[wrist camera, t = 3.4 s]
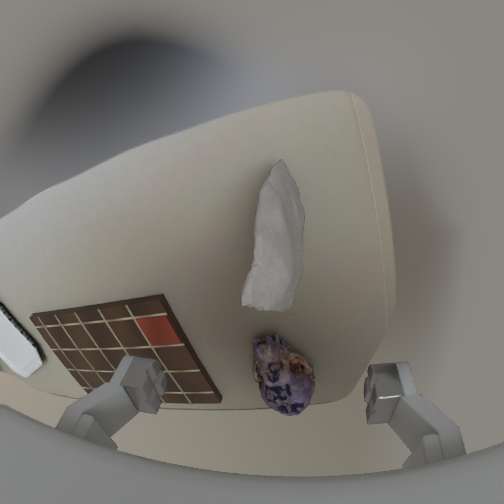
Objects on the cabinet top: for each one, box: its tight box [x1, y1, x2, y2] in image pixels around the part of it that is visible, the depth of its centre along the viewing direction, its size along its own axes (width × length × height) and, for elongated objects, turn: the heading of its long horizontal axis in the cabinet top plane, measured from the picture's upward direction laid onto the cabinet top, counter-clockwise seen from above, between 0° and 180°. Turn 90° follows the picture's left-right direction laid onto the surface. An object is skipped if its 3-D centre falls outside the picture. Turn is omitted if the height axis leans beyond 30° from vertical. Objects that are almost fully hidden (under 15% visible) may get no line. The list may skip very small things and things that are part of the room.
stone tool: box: [241, 159, 305, 312], centre depth 22 cm, size 9×3×15 cm, turn 18°
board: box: [30, 294, 222, 404], centre depth 42 cm, size 28×20×1 cm
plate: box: [0, 304, 43, 378], centre depth 47 cm, size 21×21×2 cm
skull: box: [253, 334, 315, 416], centre depth 36 cm, size 12×8×6 cm, turn 15°
